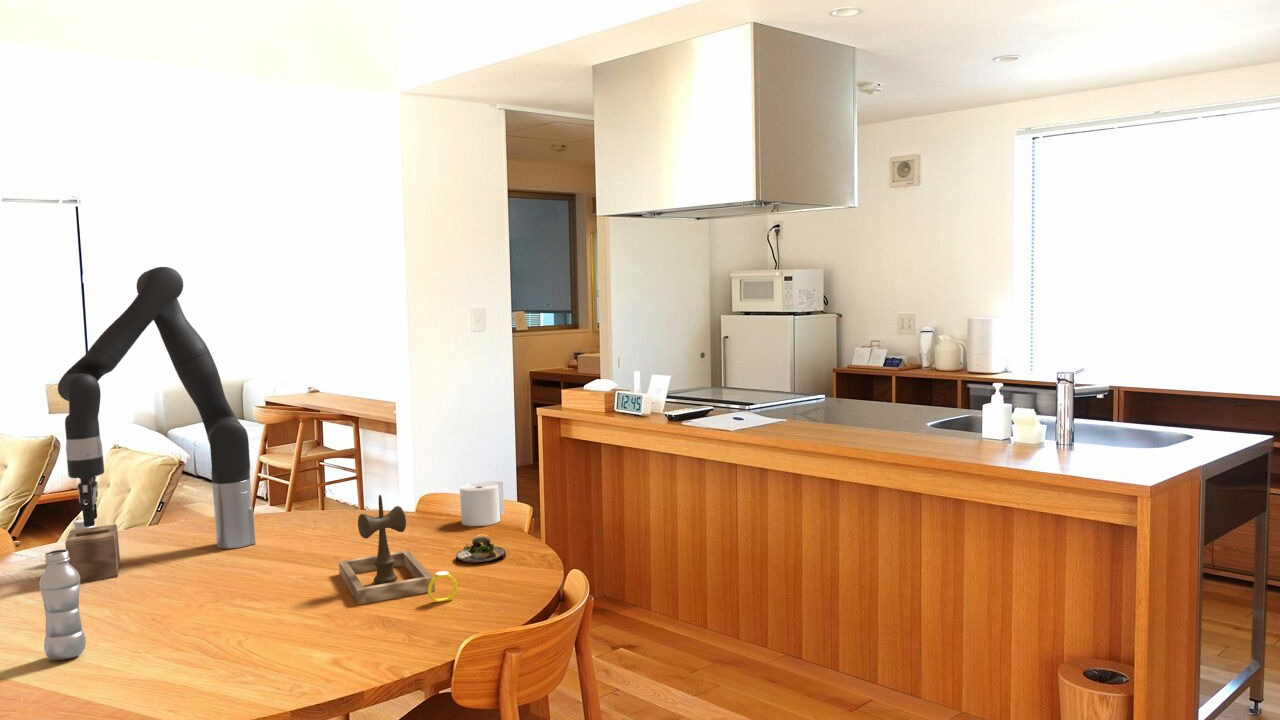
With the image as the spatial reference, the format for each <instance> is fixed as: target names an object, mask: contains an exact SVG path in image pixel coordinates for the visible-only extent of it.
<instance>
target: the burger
mask: <svg viewBox="0 0 1280 720" xmlns="http://www.w3.org/2000/svg"><path fill="white" fill-rule="evenodd" d="M491 541H492V540H491V537H490V536H489V535H488V534H485V533H480V534H477V535H475V536H474V537H473V539H472V542H471V544H472V545H470V546H469V545H468V544H466V543H465V546H463V549H462V550H460V551H458V552H457V553H456V554H455V562H457V561H458V560H461V561H463V562H468V563H485V562H488V561H489V562H491V561H493V560H497V559H499V558H500V557H502V558H501V560H503V561H504V560H505V559H506V558H507V551H506V549H505V548H503V547H499V546H495V544H493V543H491Z"/></svg>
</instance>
